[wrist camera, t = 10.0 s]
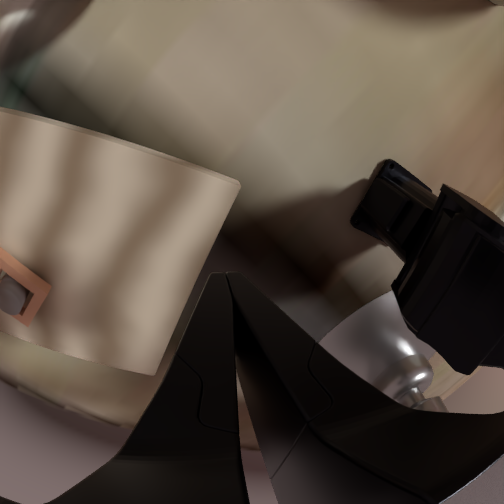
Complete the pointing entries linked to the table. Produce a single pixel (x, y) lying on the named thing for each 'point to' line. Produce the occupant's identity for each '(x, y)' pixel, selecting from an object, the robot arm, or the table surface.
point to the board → (102, 238)
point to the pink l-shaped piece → (25, 285)
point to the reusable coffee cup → (498, 2)
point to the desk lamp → (385, 353)
